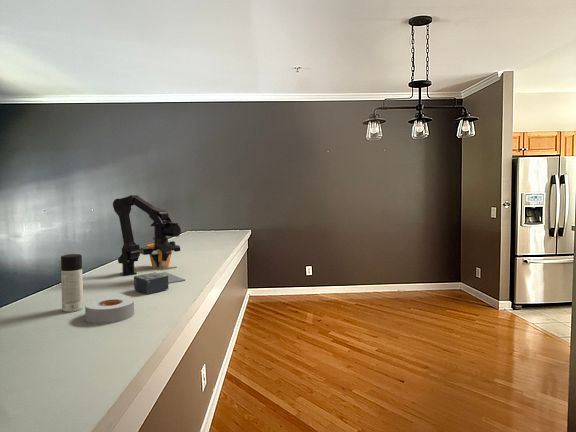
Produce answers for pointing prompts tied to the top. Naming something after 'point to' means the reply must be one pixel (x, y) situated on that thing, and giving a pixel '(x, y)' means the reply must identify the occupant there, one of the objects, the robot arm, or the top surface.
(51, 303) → the top surface
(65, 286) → the spray can
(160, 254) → the flower pot
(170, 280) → the mat
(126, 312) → the tape roll
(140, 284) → the small box
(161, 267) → the turner
